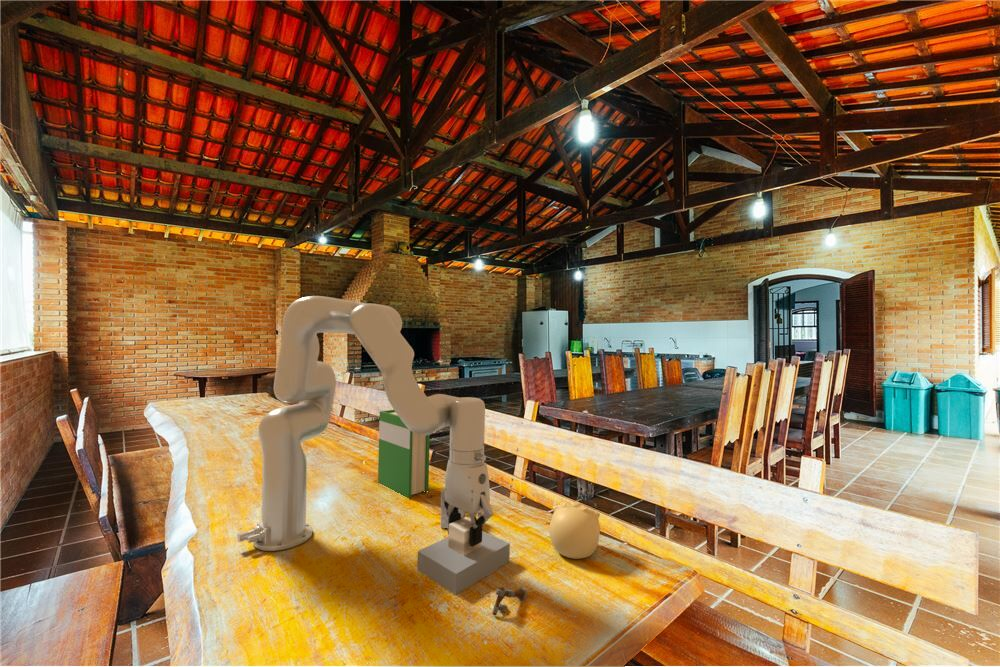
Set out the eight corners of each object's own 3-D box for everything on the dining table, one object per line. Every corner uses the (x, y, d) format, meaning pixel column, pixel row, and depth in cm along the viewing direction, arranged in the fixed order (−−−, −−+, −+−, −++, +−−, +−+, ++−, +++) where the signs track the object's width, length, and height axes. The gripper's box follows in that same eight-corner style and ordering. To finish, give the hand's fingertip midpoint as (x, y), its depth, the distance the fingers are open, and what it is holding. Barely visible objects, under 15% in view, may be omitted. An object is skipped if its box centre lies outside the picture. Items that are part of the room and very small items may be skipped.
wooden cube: (463, 556, 85) (464, 531, 85) (448, 547, 89) (448, 524, 89) (481, 547, 89) (481, 524, 89) (465, 539, 92) (465, 516, 92)
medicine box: (456, 530, 105) (457, 496, 105) (440, 528, 106) (440, 494, 106) (465, 517, 112) (466, 485, 112) (449, 515, 113) (450, 484, 113)
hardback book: (428, 492, 129) (430, 416, 129) (408, 499, 124) (410, 419, 124) (397, 478, 141) (398, 408, 141) (377, 483, 136) (379, 411, 136)
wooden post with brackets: (486, 612, 73) (494, 584, 74) (513, 611, 78) (520, 585, 79) (493, 617, 71) (501, 589, 73) (520, 616, 77) (527, 589, 78)
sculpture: (601, 543, 100) (602, 498, 100) (596, 569, 88) (597, 519, 88) (555, 535, 103) (555, 492, 103) (544, 559, 92) (545, 511, 92)
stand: (455, 594, 79) (456, 573, 79) (417, 570, 87) (417, 551, 87) (509, 561, 91) (509, 543, 91) (471, 542, 99) (471, 525, 99)
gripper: (508, 460, 86) (506, 546, 86) (452, 444, 97) (451, 520, 97) (483, 468, 80) (481, 560, 80) (427, 450, 92) (426, 531, 92)
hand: (464, 537), depth 89 cm, fingers open, 6 cm apart
